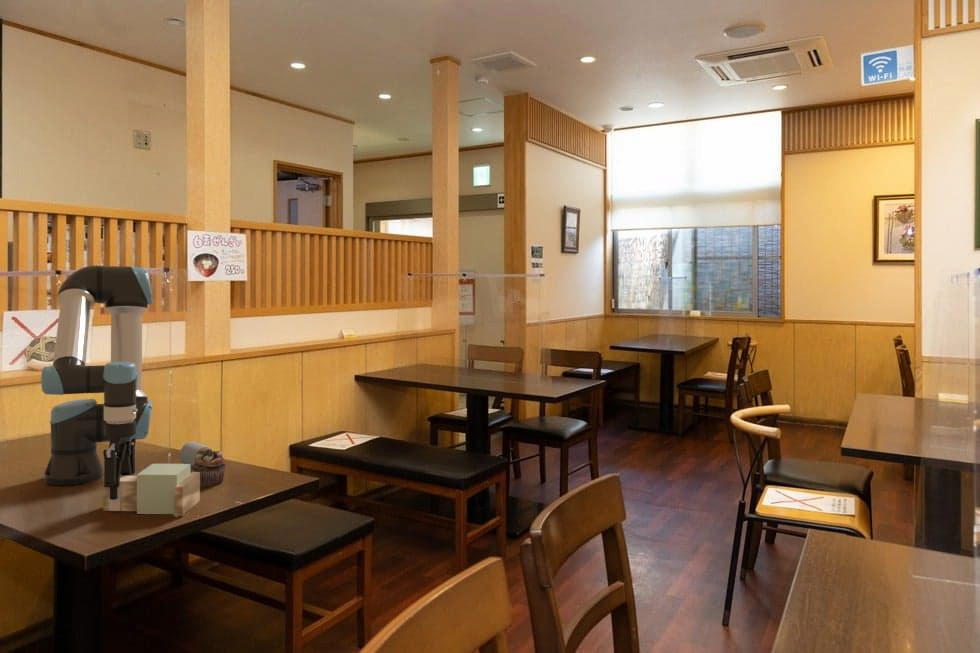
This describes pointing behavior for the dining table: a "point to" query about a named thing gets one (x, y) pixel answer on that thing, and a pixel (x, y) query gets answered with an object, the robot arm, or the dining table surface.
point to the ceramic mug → (191, 452)
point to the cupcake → (210, 467)
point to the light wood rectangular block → (124, 494)
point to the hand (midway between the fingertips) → (120, 506)
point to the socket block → (159, 487)
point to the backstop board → (187, 493)
